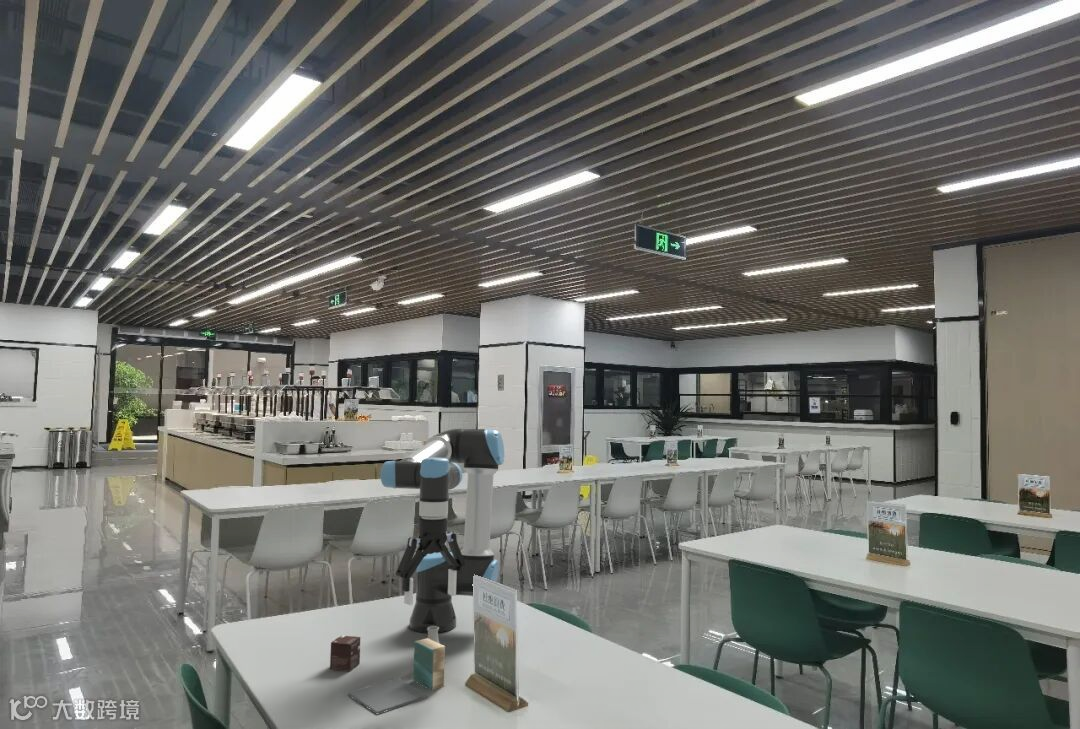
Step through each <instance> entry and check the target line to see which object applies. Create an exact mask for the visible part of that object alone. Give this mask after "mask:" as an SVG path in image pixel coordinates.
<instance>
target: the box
mask: <svg viewBox="0 0 1080 729" xmlns="http://www.w3.org/2000/svg"><path fill="white" fill-rule="evenodd" d="M329 656H330V657H329V658H330V661H329V662H330V663H329V670H331V669H335V670H334V671H341V670H346V671H345V672H351V671H352V670H354V669H355V668H356V667H357V666H359V665H360V663H361V661H360V660H361V636H351V635H340V636H339V637H337V638H335V639H334V640H332V641H331V642H330V654H329ZM358 664H359V665H358ZM353 668H354V669H353Z"/></svg>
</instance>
